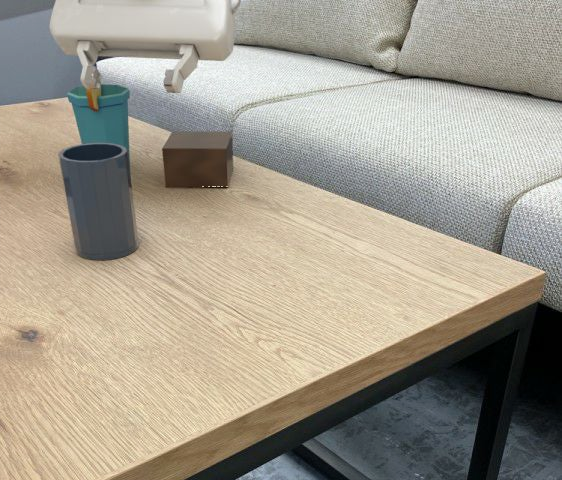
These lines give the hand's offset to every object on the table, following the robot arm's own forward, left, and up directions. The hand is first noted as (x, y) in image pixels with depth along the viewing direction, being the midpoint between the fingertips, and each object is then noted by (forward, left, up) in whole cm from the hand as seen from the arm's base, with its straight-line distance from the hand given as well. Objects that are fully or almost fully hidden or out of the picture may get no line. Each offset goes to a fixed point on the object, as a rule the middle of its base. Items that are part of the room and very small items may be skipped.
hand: (130, 87), depth 75 cm
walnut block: (+5, +13, -14) cm, 19 cm away
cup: (-8, +15, -14) cm, 22 cm away
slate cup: (-2, -10, -14) cm, 17 cm away
